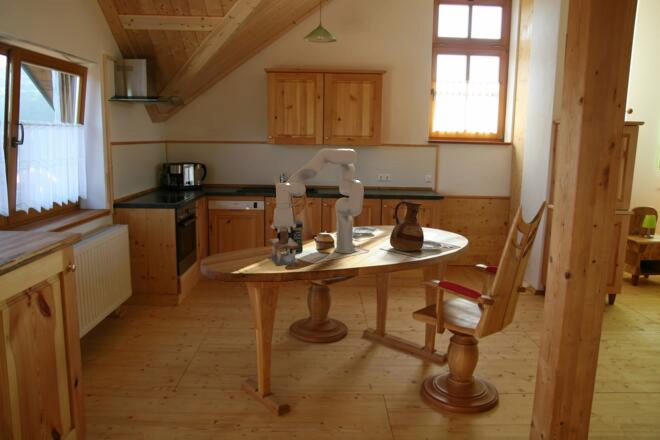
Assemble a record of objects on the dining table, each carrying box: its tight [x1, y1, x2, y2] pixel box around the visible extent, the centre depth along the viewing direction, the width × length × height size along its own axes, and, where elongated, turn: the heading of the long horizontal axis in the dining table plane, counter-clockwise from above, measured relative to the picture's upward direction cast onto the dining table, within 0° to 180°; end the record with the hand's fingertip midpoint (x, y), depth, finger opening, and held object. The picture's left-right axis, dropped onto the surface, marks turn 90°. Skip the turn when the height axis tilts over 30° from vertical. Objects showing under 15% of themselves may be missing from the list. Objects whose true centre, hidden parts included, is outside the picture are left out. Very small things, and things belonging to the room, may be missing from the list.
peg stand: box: [269, 245, 300, 267], centre depth 283 cm, size 12×20×8 cm, turn 17°
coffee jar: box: [285, 220, 304, 254], centre depth 302 cm, size 10×8×19 cm
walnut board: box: [268, 229, 299, 250], centre depth 282 cm, size 12×20×8 cm, turn 17°
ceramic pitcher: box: [389, 199, 425, 252], centre depth 309 cm, size 20×20×30 cm
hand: (283, 239), depth 282 cm, fingers closed on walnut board, 4 cm apart
